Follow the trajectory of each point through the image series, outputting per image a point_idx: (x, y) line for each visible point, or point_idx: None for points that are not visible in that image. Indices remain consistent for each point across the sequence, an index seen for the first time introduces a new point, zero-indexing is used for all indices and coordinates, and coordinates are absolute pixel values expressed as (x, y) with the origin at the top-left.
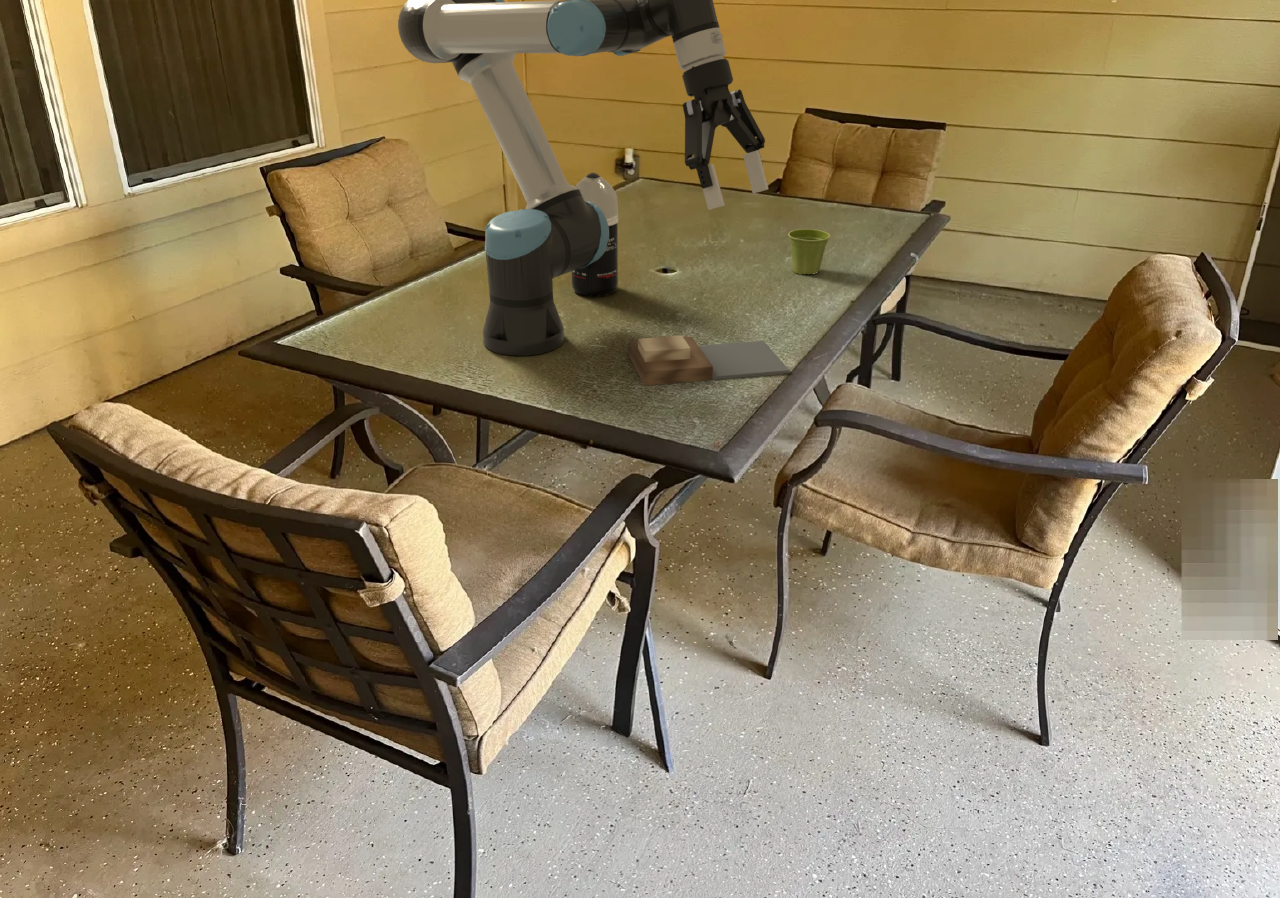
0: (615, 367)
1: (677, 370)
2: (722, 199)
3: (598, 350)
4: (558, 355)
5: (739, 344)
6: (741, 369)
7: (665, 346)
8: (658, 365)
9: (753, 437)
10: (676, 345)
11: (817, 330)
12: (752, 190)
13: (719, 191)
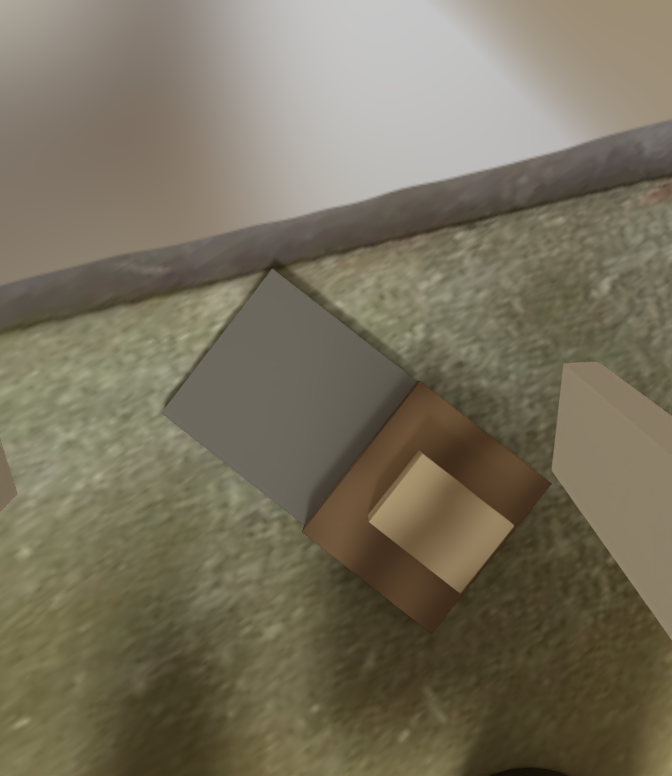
0: (505, 590)
1: (488, 434)
2: (587, 379)
3: (455, 686)
4: (539, 738)
5: (219, 443)
6: (340, 354)
7: (454, 508)
8: (500, 482)
9: (588, 156)
10: (431, 490)
11: (3, 357)
12: (4, 502)
13: (631, 404)
